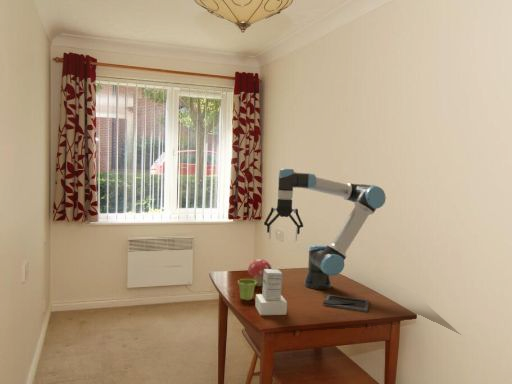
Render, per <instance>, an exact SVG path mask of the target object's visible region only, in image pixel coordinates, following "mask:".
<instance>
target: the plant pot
mask: <svg viewBox="0 0 512 384" xmlns="http://www.w3.org/2000/svg"><path fill="white" fill-rule="evenodd" d="M237 283H238V287H239V296H240V297H239V298H240V300H244V301H251V300H252V299H253V297H254V293H255V288H256V285H255V284H256V283H257V282H256V281H255V280H254V279H252V278H251V279H250V278H241V279H239V280H237Z"/></svg>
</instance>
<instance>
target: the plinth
mask: <svg viewBox="0 0 512 384" xmlns="http://www.w3.org/2000/svg"><path fill="white" fill-rule="evenodd" d="M254 302H255V303H254V304H255V305H254V307H255V309H256V310H257V311H258V314H259V315H260V316H277V315H278V316H281V315H282V316H284V315H285V316H286V315H287V310H288V309H287V307H288V302H287V300H286V299H285V298H284V296H283V295H282V294H281V300H265V298H264V297H263V295H262V293H259V294H257V293H256V294H255V301H254Z"/></svg>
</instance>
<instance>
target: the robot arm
mask: <svg viewBox="0 0 512 384" xmlns="http://www.w3.org/2000/svg"><path fill="white" fill-rule="evenodd" d="M277 187H278V188H277V204H276V205H277V206H276V207H273V206H272V207H271V208H270V212H269V214H268V216H267V217H266V218H265V220H264V223H263V225H264V226H266V232H267V233H268V240H271V238H272V237H271V234H272V232H271V231H272V226H271V225H272V224H273V223H274V222H275V221H276V220H277V219H278V218H279V217H281V218H284V217H285V218H288V217H289V218H290V220H291V221H292V222H293V223H294V226H296V227H295V234H294V241H295V242H296V241H298V235H299V234H300V231H301V230H300V229H301V228H303V227H304V223H303V221H302V220H301V217H300V215H299V210H298V208H293V194H294V193H293V192H294V188H298V189H299V188H300V189H306V190H310V191H314V192H319V193H323V194H328V195H332V196H337V197H341V198H343V199H344V200H346V201H350V202H353V203H354V206H353V207H354V208H353V209H352V210H351V212H350V214H349V215H348V217H347V219H346V220H345V222H344V224H343V225H342V227H341V229H340V230H339V231H338V232H337V235H336V236H335V238H334V239H333V241H332V243H330V244H327V245H325V244H323V245H321V244H315V245H314V244H313V245H310V246H309V249H308V250H309V251H308V262H307V263H308V267H307V273H306V274H305V278H304V282H303V285H304V286H305V287H307V288H309V289H313V290H328V289H331V288H332V281H331V277H334V276H337V275H339V274H341V273H342V271H343V270H344V268H345V260H346V258H347V254H346V253H347V250H348V249H349V247H350V246H351V244H352V243H353V241H354V239H355V238H356V236H358V234H359V232H360V230H361V229H362V227H363V225H364V224H365V222H366V221H367V219H368V217H369V216H370V215H374V213H375V211H376V210H377V209H380V208H381V207H383V206H384V205H385V203H386V199H387V197H386V193H385V191H384V189H382V187H380V186H377V185H374V184H373V185H372V184H363V183H362V184H361V183H360V184H358V183H349V182H347V183H344V182H343V183H342V182H339V181H334V180H330V179H325V178H321V177H317V175H315V174H314V173H308V172H307V173H304V172H303V173H302V172H296V171H295V170H294V169H293V168H281V169H279V172H278V186H277ZM274 212H277V213H276V215H274V217H273V218H272V219H271V217H272V215H273V213H274ZM292 213H294V214H295V215H296V218H297V220H298V222H299V223H298V222H297V221H296V219H295V218H294V217H293V215H292ZM270 219H271V220H270ZM269 220H270V221H269Z"/></svg>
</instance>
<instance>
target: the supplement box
mask: <svg viewBox="0 0 512 384" xmlns="http://www.w3.org/2000/svg"><path fill="white" fill-rule="evenodd" d="M282 283H283V272H281V270H280V269H278V268H275V269H273V268H272V269H264V275H263V286H262V293H261V294H262V295H263V297H264V298H265V300H281V295H282Z"/></svg>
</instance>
